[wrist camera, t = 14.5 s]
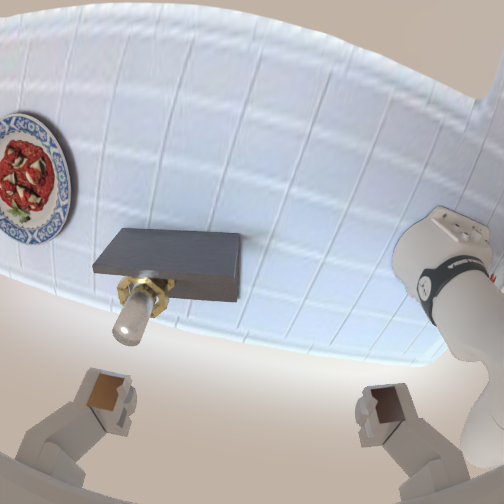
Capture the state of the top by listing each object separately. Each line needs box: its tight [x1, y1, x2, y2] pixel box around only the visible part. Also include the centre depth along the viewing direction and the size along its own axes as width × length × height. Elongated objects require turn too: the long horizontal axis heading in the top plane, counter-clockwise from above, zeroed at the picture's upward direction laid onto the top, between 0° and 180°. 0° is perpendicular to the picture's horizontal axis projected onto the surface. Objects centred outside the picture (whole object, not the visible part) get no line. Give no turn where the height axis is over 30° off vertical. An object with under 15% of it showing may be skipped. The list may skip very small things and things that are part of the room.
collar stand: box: [92, 228, 239, 318], centre depth 48 cm, size 20×13×12 cm, turn 87°
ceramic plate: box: [0, 114, 71, 245], centre depth 44 cm, size 26×26×3 cm
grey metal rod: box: [112, 279, 165, 346], centre depth 45 cm, size 4×4×17 cm
